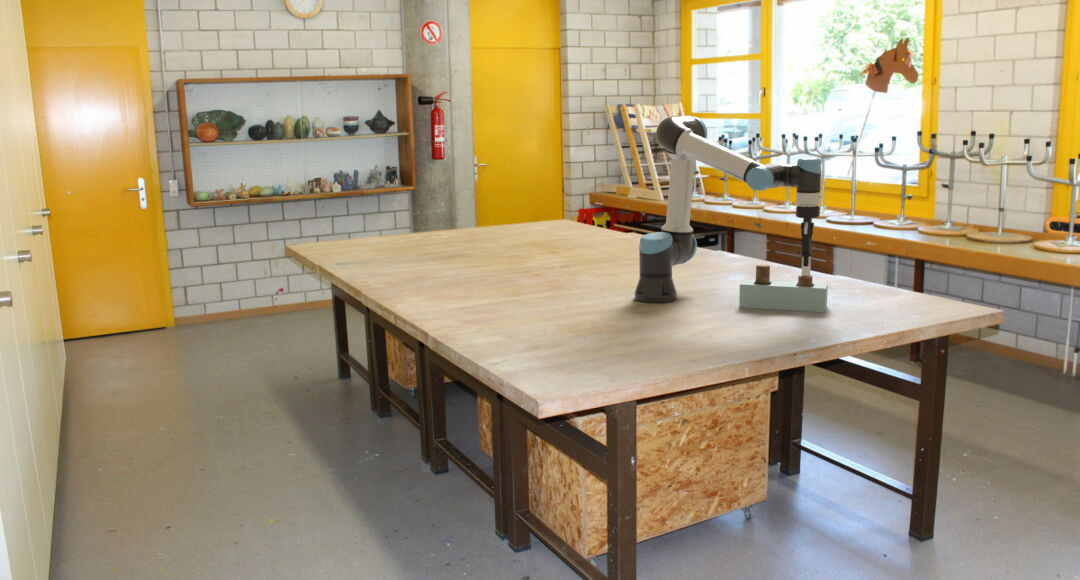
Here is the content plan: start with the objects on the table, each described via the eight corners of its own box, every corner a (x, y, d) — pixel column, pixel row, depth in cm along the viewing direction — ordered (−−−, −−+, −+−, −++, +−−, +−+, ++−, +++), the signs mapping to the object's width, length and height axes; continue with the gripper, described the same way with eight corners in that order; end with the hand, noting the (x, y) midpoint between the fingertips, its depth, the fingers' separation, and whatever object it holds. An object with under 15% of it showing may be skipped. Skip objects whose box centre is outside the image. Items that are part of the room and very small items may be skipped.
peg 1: (754, 289, 305) (755, 266, 303) (756, 287, 309) (757, 264, 307) (768, 290, 303) (769, 267, 301) (770, 287, 307) (770, 264, 306)
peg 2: (796, 300, 300) (797, 277, 299) (798, 297, 304) (798, 274, 303) (811, 301, 299) (811, 277, 297) (812, 298, 303) (813, 275, 301)
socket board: (739, 307, 306) (739, 284, 304) (743, 301, 314) (743, 279, 312) (824, 312, 296) (825, 288, 294) (826, 306, 304) (827, 283, 302)
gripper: (818, 207, 288) (815, 279, 292) (821, 203, 300) (819, 272, 304) (794, 207, 291) (792, 278, 295) (798, 203, 302) (796, 271, 307)
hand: (805, 275), depth 300 cm, fingers closed
